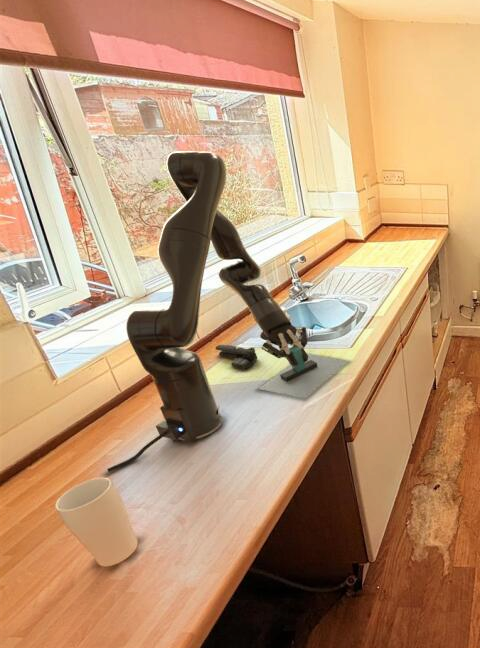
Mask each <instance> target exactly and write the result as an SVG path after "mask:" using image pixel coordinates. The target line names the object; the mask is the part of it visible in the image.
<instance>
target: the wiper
mask: <svg viewBox="0 0 480 648" xmlns="http://www.w3.org/2000/svg"><path fill="white" fill-rule="evenodd" d="M288 348H289V350H290V353H291V354H293V356H294V357H295V359H296V360H297V362H298V366H296V367H294V366H292V369H291V370H289V371H287V372H285V373H282V374H280V376H281V379H283V380H284V381H286V382H288V381H290V380H292V379H294V378H296V377H298V376H300V375H302V374H304V373H306V372H308V371H310V370H312V369H314V368H316V367H317V363H316V362H314V361H312V360H310V361H307V362H305V363H304V360H303V355H302V351H301V348H299V347H297V346H294V347H292V346H291V347H288Z"/></svg>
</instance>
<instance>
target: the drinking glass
mask: <svg viewBox="0 0 480 648" xmlns="http://www.w3.org/2000/svg"><path fill="white" fill-rule="evenodd" d="M54 508H55V510H56V512H57V514H58V516H59V518H60V520H61V521H62V523H63V524H64V525H65V527H66V528H67V529H68V530H69V531H70V533H71V534H72V535H73V536H74V537H75V538H76V539H77V540H78V542H79V543H80V544H81V545H82V546H83V548H85V550H87V551H88V553H89V554H90V556H92V557H93V558H94V560H95V561H96V563H97V564H98V565H99V566H101V567H104V568H105V567H106V568H107V567H112V566H115V565H118V564H120V563H122V562H124V561H125V560H127V559H128V558H129V557H130V556H131V555H133V553H134V552H135V551H136V549H137V547H138V543H139V541H138V538H137V536H136V534H135V531H134V530H133V527H132V524H131V522H130V519H129V516H128V513H127V510H126V508H125V505H124V503H123V500H122V497H121V494H120V493H119V491H118V490H117V488H116V486H115V485H114V483H113V482H112V480H111V479H110V478H108V477H95V478H90V479H88V480H84V481H82V482H79V483H78V484H76V485H74V486H72V487H71V488H69V489H67V490H66V491H65V492H64V493H62V494H61V495H60V497H59V498H58V499H57V500H56V502H55V505H54Z"/></svg>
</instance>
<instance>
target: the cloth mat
mask: <svg viewBox="0 0 480 648" xmlns="http://www.w3.org/2000/svg"><path fill="white" fill-rule="evenodd" d="M307 355H308V360H307V361H310V360H312V361H314V362H316V363H317V367H316V368H314V369H312V370H310V371H308V372H306V373H304V374H302V375H300V376H298V377H296V378H294V379H292V380H290V381H288V382H286V381H284V380H283V379H281V376H280V374H282V373H285V372H287V371H289V370H291V369H292V365H289V366H288V367H287V368H285V369H284V370H282V371H280V373H278V374H276V375H275V376H274V377H272V378H271V379H270V380H268V381H267V382H266V383H264V384H262V385H261V386H260V387H258V390H261V391H267V392H271V393H272V392H273V393H277V394H283V395H287V396H292V397H293V396H294V397H298V398H304V399H306V398H307V397H308V396H309V395H311V394H312V393H313V392H314V391H316V390H317V389H318V388H319V387H320V386H321V385H322V384H324V383H325V382H326V381H327V380H328V379H330V378H331V377H332V376H333V375H334V374H336V373H337V372H338V371H339V370H340V369H342V367H344V366H345V365H346V364H347V363H348V362H349V360H345V359H339V358H333V357H327V356H322V355H315V354H310V353H307ZM307 361H306V362H307ZM304 363H305V362H304Z"/></svg>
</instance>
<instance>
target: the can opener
mask: <svg viewBox="0 0 480 648" xmlns="http://www.w3.org/2000/svg"><path fill="white" fill-rule="evenodd" d="M214 349H215V350H217V351H219V352H218V355H219V356H220V357H223V358H226V359H233V361H232V362H231V364H230V365H231V366H232V368H235V369H238V370H245V369H247V368H249V367H251V366H252V364H253V363H255V362H256V361H257V360H258V356H257V353H256V349H255V347H253V346H252V347H249V348H244V347H242V346H236V345H229V344H218V345H216V346H215V348H214Z"/></svg>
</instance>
